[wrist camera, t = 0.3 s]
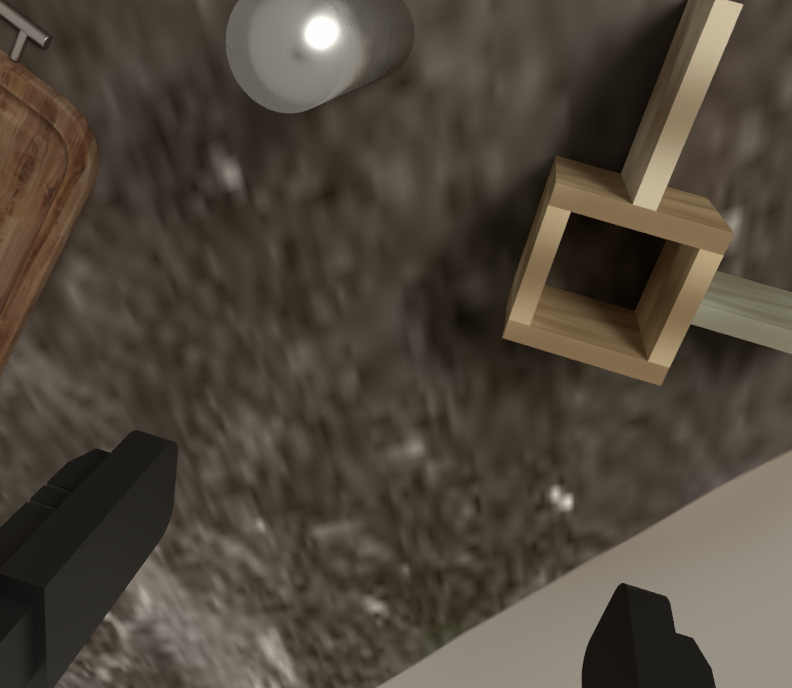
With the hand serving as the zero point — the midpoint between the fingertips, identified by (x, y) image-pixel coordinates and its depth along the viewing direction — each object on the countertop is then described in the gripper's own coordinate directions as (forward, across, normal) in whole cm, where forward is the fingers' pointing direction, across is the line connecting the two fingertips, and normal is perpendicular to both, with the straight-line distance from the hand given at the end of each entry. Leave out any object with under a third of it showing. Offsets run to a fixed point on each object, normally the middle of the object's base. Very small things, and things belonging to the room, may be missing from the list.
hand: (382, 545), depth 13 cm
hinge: (+27, -10, -2) cm, 29 cm away
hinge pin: (+27, +8, -5) cm, 29 cm away
